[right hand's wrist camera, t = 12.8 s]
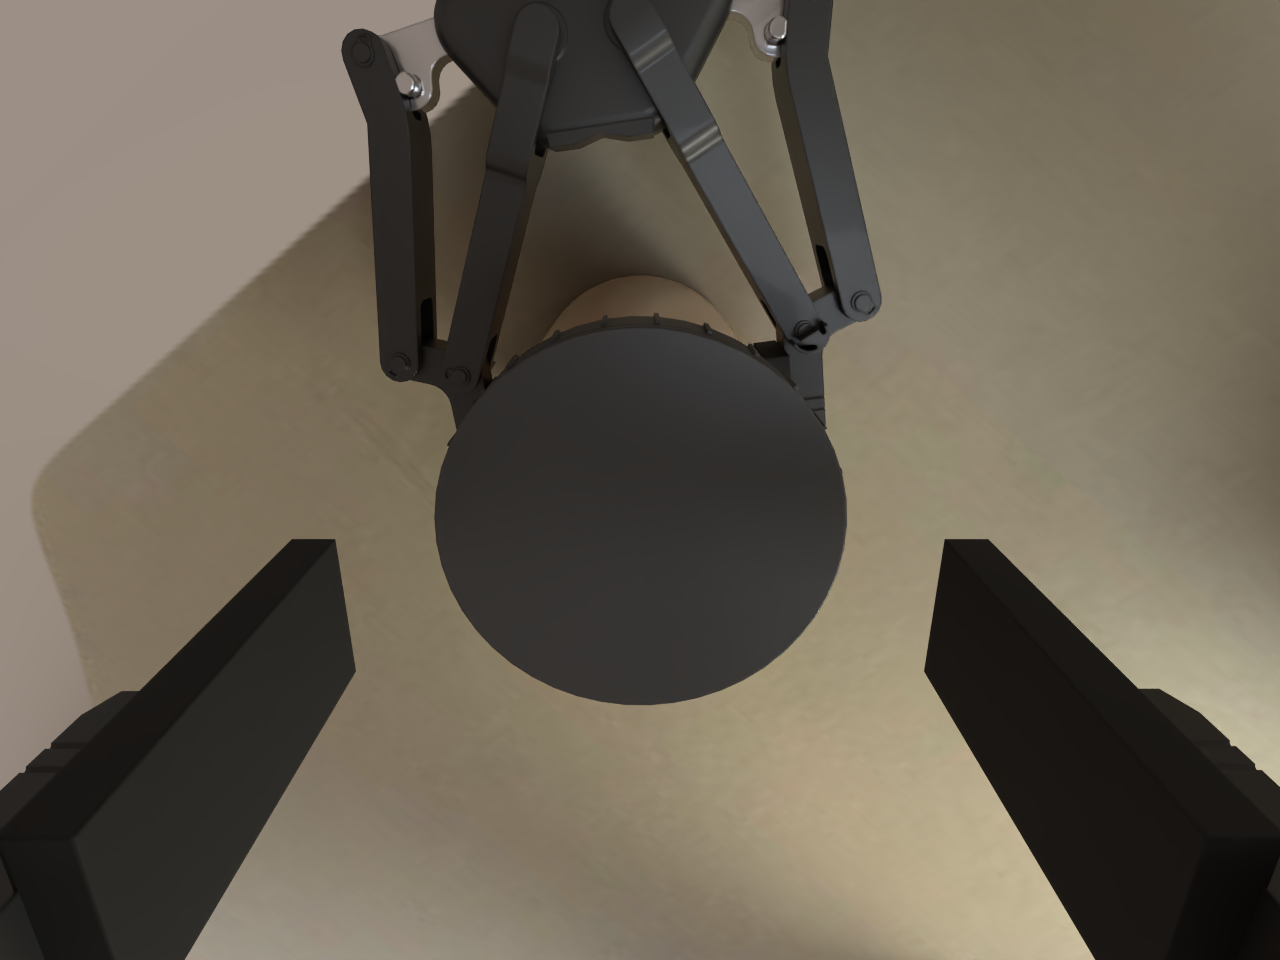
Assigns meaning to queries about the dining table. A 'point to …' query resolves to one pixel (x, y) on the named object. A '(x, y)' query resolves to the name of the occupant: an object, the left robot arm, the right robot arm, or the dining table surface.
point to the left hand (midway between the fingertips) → (657, 542)
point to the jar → (640, 304)
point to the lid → (640, 511)
